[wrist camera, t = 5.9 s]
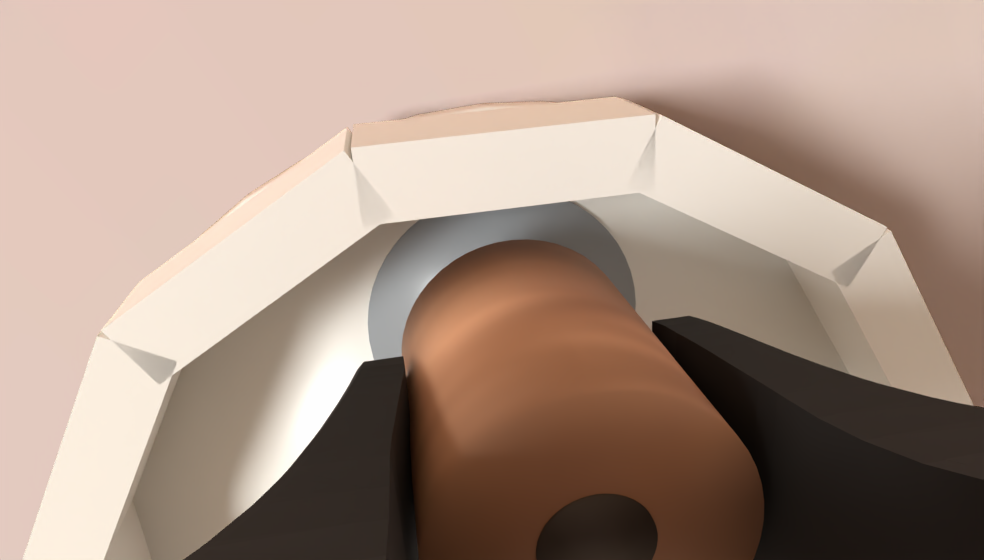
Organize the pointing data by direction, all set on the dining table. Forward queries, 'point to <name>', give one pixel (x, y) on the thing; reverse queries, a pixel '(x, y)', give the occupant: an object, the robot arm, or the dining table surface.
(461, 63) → the dining table surface
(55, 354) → the dining table surface
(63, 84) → the dining table surface
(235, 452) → the ring tray
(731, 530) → the pepper mill
